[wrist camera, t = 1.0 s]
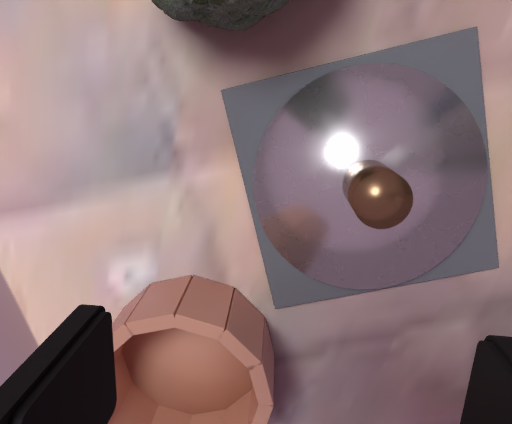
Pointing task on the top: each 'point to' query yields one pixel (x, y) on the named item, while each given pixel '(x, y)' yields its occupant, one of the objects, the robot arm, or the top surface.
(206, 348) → the bowl
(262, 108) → the mat
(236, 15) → the vegetable
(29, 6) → the top surface
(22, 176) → the top surface
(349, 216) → the lid
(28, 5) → the top surface
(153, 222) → the top surface
